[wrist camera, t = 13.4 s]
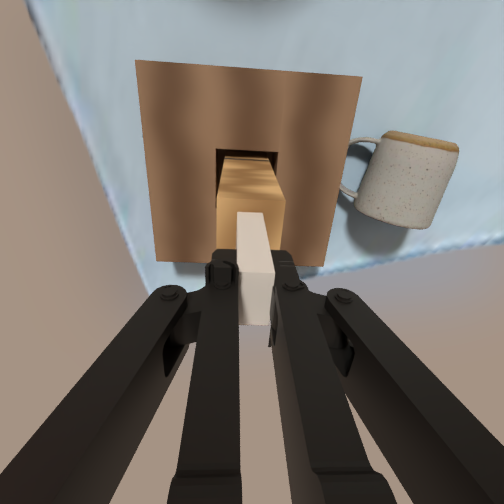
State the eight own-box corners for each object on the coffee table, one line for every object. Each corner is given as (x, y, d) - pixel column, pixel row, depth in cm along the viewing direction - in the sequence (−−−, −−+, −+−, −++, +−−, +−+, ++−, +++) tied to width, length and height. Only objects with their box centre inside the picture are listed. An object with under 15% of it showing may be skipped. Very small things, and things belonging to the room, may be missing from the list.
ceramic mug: (436, 136, 31) (489, 149, 25) (405, 209, 35) (443, 237, 28) (340, 119, 30) (367, 127, 24) (318, 195, 34) (337, 221, 27)
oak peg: (265, 152, 30) (286, 200, 17) (262, 190, 32) (278, 260, 19) (226, 149, 30) (216, 197, 17) (225, 188, 32) (216, 258, 19)
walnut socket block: (343, 78, 28) (362, 76, 24) (313, 245, 37) (323, 266, 33) (151, 64, 27) (134, 59, 23) (166, 240, 36) (156, 261, 31)
